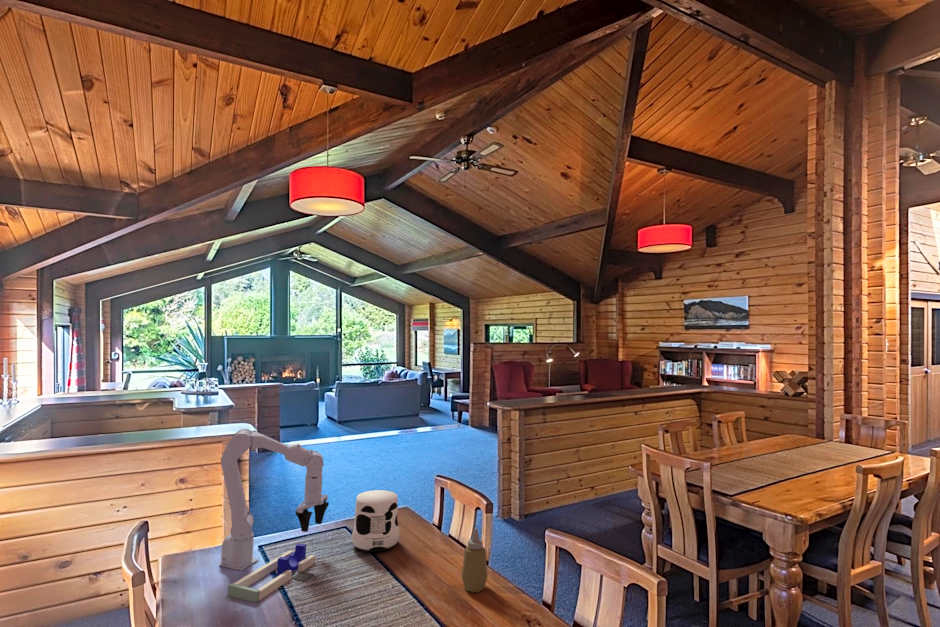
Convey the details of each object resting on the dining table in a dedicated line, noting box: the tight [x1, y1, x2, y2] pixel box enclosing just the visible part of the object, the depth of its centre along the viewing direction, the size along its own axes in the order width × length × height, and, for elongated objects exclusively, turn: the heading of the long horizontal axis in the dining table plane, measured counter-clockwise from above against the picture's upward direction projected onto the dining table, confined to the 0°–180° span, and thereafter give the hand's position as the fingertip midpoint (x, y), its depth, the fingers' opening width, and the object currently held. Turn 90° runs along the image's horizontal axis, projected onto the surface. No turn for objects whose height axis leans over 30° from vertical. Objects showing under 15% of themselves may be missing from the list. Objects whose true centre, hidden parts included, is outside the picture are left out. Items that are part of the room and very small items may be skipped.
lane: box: [226, 550, 316, 603], centre depth 155 cm, size 10×27×3 cm, turn 161°
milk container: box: [351, 489, 400, 553], centre depth 181 cm, size 17×17×18 cm
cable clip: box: [276, 543, 307, 577], centre depth 161 cm, size 12×4×6 cm, turn 169°
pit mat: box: [290, 571, 315, 583], centre depth 156 cm, size 5×5×1 cm
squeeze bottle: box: [461, 528, 488, 593], centre depth 152 cm, size 8×8×18 cm
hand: (311, 527), depth 171 cm, fingers open, 7 cm apart
